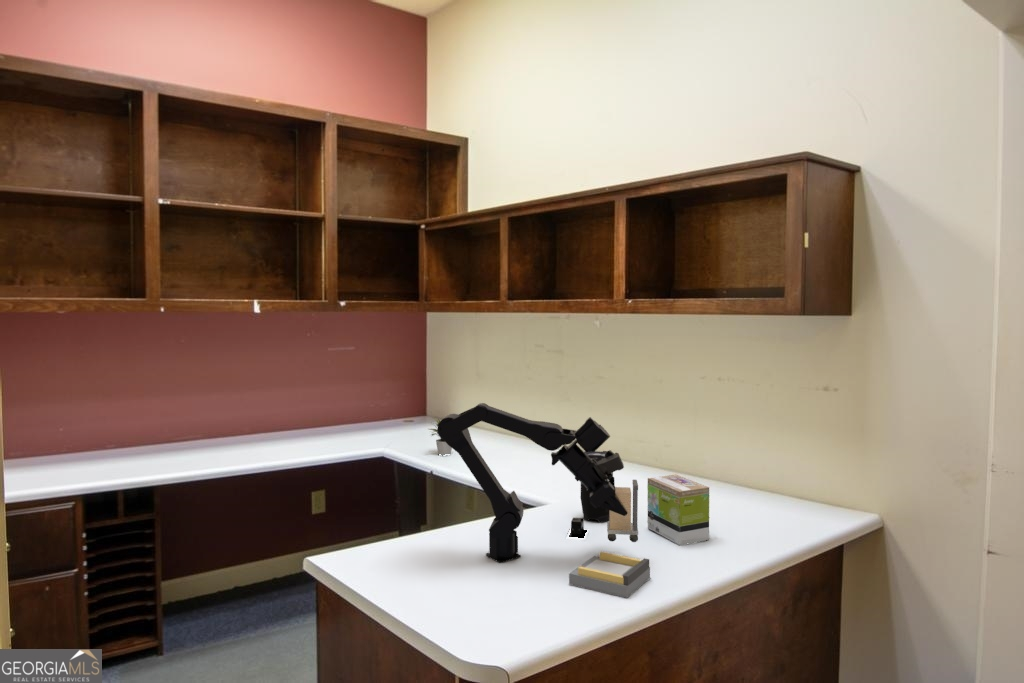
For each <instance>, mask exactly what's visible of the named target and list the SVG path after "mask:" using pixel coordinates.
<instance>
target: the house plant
mask: <svg viewBox="0 0 1024 683" xmlns="http://www.w3.org/2000/svg"><path fill="white" fill-rule="evenodd" d="M434 420H435V421H436V423H434V422H429V423H430V424H432V425H433V426H435V428H428V431H429V430H431V434H430V436H431V437H434V436H435V435H436V436H437V437H438V439H436V440H435V442H436V448H437V454H441V455H445V454H451V455H452V450H453V448H451V447H450V446H449V445H448V444H447V443H446V442H445V441H444V440H443V439H442V438H441V437H440V436H439V434H438V431H437V429H438V424H439V422H440V421H441V420H440V419H439V418H437V419H436V418H434Z"/></svg>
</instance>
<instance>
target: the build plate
mask: <svg viewBox="0 0 1024 683" xmlns="http://www.w3.org/2000/svg"><path fill="white" fill-rule="evenodd" d="M584 523H585V522H584V519H583V517H572V519H571V521H570V528H571V533H570V535H569V537H578V538H584V536H585V533H586V532H587V530H584V529H585V526H584V525H585V524H584Z"/></svg>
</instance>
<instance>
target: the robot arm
mask: <svg viewBox="0 0 1024 683" xmlns="http://www.w3.org/2000/svg"><path fill="white" fill-rule="evenodd" d="M438 422H439V421H438ZM480 422H483V423H486V424H489V425H492V426H493V427H494V426H495V427H497V428H501V429H503V430H506V431H509V432H511V433H515V434H517V435H521V436H523V437H526V438H527V439H529V440H530V441H531V442H533V443H535V444H536V445H538V446H539V447H542V448H544V449H545V450H547V451H551V454H550V456H551V465H552V466H555V465H556V464H557V463H558V462H560V463H561V464H563V466H564V467H565V468H566V469H567V470H568V471H569V472H570V473H571V474H572V476H574V479H575V481H576V482H580V484H581V483H582V484H583V485H584V486H585V487H586V488H587V491H588V493H589V494H590V504H591V505H592V506H593V507H594V508H597V507H599V506H600V507H602V508H605V509H608V510H611V511H613V512H616V513H618V514H620V515H623V516H626V515H627V511H626V510H625V508H624V507H623V505H622V504H621V502H620V501H619V500H618V498H617V497H616V495H615V491H616V490H615V487H616V486H615V477H614V472H617V471H621V470H624V468H625V466H624V462H623V460H622V458H621V456H620V454H619V452H613V451H612V449H611V450H610V449H609V450H606V451H607V452H605V458H604V459H603V458H602V460H600V461H598V462H597V461H596V460H595V459H594V458H593V459H592V458H591V459H590V458H589V457H588V456H587V455H586V454H585V453H584V452H585V451H586V452H590V451H592V452H595V451H597V450H598V449H599V448H600V447H601V446H602V445H603V444H604V443H606V442H607V440H608V439H610V437H611V435H610V434H609V432H608V431H607V430H606V429H605V428H604V427H603V425H601V424H599V423H598V422H597V421H596V420H594V419H593V418H592V417H588V418H587V419H586V420H585V421H584V423H583V424H582V425H581V426H579V427H578V429H577V430H576V429H568V428H563V427H562V425H560V424H558V423H554V422H548V421H541V420H540V421H538V420H531V419H528V418H525V417H522V416H519V415H516V414H513V413H510V412H508V411H505V410H502V409H499V408H496V407H493V406H490V405H488V404H487V403H485V402H484V403H483V402H482V403H481V402H480V403H478V404H477V405H476V406H474V407H472V408H469V409H467V410H465V411H462V412H461V413H458V414H457V413H449V414H448V415H446V416H444V417H443V418H442V419H441V420H440V422H439V424H438V423H437V424H438V426H437V428H436V429H437V431H438V433H437V434H438V435H439V436H440V437H441V438H442V439H443V440H444V441H445V442H446V443H447V444H448V445H449V446H450V447H451V448H452V450H454V451H455V452H457V454H458V455H459V456H460V457H461V460H462V461H463V462H464V463H465V465H466V467H467V469H469V471H470V472H471V475H473V477H474V478H475V480H476V482H477V483H478V484H479V486H480V487H481V489H482V490H483V492H484V493H485V495H486V496H487V498H488V500H489V502H490V504H491V508H492V511H493V514H494V516H495V517H494V518H493V519H492V521H491V525H490V527H489V529H488V532H489V534H488V535H489V536H488V537H489V539H488V540H489V542H488V545H489V546H488V548H489V550H488V551H489V552H487V553H485V556H486V557H488V558H490V559H491V558H492V559H491V560H493V559H494V561H496V562H498V563H505V562H509V561H511V560H515V559H518V558H519V559H520V558H521V556H522V555H521V554H520V553H518V552H519V537H518V536H517V535H518V534H517V531H516V529H518V528H519V526H520V524H521V522H522V521H523V520H522V519H523V516H524V507H523V505H524V503H523V502H524V501H523V502H522V501H521V500H520V499H519V498H518V495H517V493H516V491H515V490H513V491H511V492H508V491H507V490H506V489H504V487H503V486H502V484H501V483H500V481H499V480H498V478H497V477H496V476H495V474H494V473H493V471H492V470H491V468H490V466H489V465H488V464H487V462H486V460H485V459H484V458H483V456H482V455H481V453H480V452H479V450H478V448H477V447H476V445H475V444H474V442H473V441H472V440H473V439H472V437H471V434H470V430H469V428H471V427H472V426H474V425H476V424H478V423H480ZM439 436H438V437H439ZM440 437H439V438H440ZM441 438H440V439H441ZM567 445H568V446H567ZM580 447H581V448H580ZM557 450H558V451H557ZM552 451H553V452H552ZM555 451H556V452H555ZM609 475H610V476H612V475H613V477H612V478H611V479H610V480H608V479H606V478H607V477H608V476H609Z"/></svg>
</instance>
